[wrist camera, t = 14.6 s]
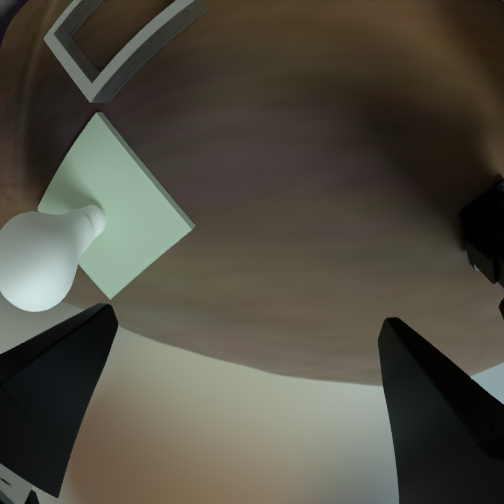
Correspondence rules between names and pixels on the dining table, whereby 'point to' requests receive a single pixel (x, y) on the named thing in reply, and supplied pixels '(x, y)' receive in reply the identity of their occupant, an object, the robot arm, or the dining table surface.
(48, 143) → the dining table surface
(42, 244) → the lightbulb
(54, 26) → the grey square frame
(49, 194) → the green mat
